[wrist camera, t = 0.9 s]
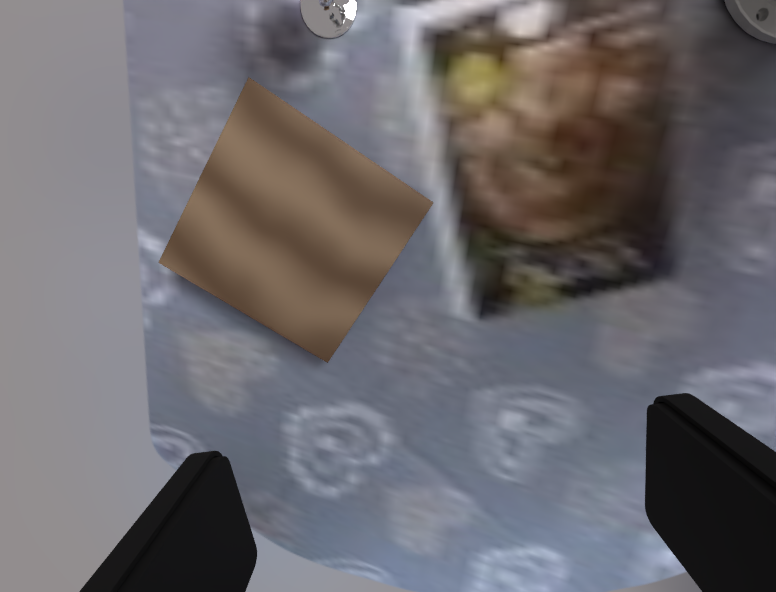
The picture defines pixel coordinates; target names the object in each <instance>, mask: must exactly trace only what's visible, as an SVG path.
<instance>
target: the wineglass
mask: <svg viewBox="0 0 776 592" xmlns="http://www.w3.org/2000/svg"><path fill="white" fill-rule="evenodd" d="M300 8H301V14H302V17H303V20H304V22H305V23H306V25H307V27H308V28H309V29H310V30H311V31H312V32H313V33H314V34H316V35H318V36H320V37H322V38H328V39H330V38H337V37H339V36H341V35H343V34H344V33H345V32H347V31H348V30H349V28H350V27H351V26H352V24H353V22H354V20H355V17H356V12H357V1H356V0H300Z"/></svg>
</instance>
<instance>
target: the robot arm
mask: <svg viewBox="0 0 776 592" xmlns="http://www.w3.org/2000/svg"><path fill="white" fill-rule="evenodd" d="M724 1H725V4H726V7H727V9H728V11H729V13H730V14H731V16H732V17H733V19H734V20H735V22H736V23H737V24H738V25H739V26H740V27H741V28H742V29H743V30H744V31H745V32H746V33H748V34H750V35H752V36H753V37H755V38H757V39H759V40H762V41H765V42H769V43H772V44H776V0H724ZM645 509H646V513H647V516H648V519H649V521H650V523H651V524H652V526H653V528H654V529H655V530H656V531H657V533H658V534H659V535H660V537H661V538H662V539H663V541H664V542H665V543H666V545H667V546H668V547H669V549H670V550H671V551H672V552H673V554H674V555H675V556H676V558H677V559H678V560H679V562H680V563H681V564H682V566H683V567H684V568H685V569H686V571H687V572H688V573H689V575H690V576H691V577H692V579H693V580H694V581H695V583H696V584H697V585H698V586H699V588H700V589H701V590H702V592H776V452H775V451H774V450H772V449H771V448H769V447H768V446H766V445H765V444H763V443H762V442H760V441H759V440H757V439H756V438H755V437H753V436H752V435H750V434H749V433H747V432H746V431H744V430H743V429H741V428H740V427H738V426H737V425H736V424H734V423H733V422H731V421H730V420H728V419H727V418H725V417H724V416H722V415H721V414H719V413H718V412H717V411H715V410H714V409H712V408H711V407H709V406H708V405H706V404H705V403H703V402H702V401H701V400H699V399H698V398H696V397H695V396H693V395H691V394H688V393H683V394H674V395H666V396H659V397H657V398H656V399H655V400H654V404H652V405H649V406H648V408H647V434H646V484H645ZM256 559H257V548H256V544H255V541H254V538H253V534H252V531H251V528H250V525H249V522H248V519H247V515H246V512H245V509H244V506H243V503H242V500H241V496H240V493H239V490H238V487H237V484H236V480H235V477H234V474H233V471H232V468H231V465H230V462H229V459H228V458H227V457H225V456H223V457H222V454H221V453H220V452H219V451H210V452H201V453H194V454H191V455H189V456H188V457H187V458H186V460H185V461H184V462H183V463H182V465H181V466H180V467H179V468H178V470H177V471H176V472H175V473H174V475H173V476H172V477H171V479H170V480H169V481H168V482H167V483H166V485H165V486H164V487H163V488H162V490H161V491H160V492H159V493H158V495H157V496H156V497H155V498H154V499H153V501H152V502H151V503H150V505H149V506H148V507H147V508H146V510H145V511H144V512H143V513H142V515H141V516H140V517H139V518H138V520H137V521H136V522H135V523H134V525H133V526H132V527H131V528H130V529H129V531H128V532H127V533H126V534H125V536H124V537H123V538H122V539H121V541H120V542H119V543H118V544H117V546H116V547H115V548H114V550H113V551H112V552H111V553H110V554H109V556H108V557H107V558H106V559H105V561H104V562H103V563H102V564H101V566H100V567H99V568H98V569H97V570H96V572H95V573H94V574H93V576H92V577H91V578H90V579H89V581H88V582H87V583H86V584H85V585H84V587H83V588H82V589H81V590H80V592H245V591H246V588H247V585H248V583H249V580H250V578H251V575H252V573H253V570H254V567H255V564H256Z"/></svg>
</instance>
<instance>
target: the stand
mask: <svg viewBox="0 0 776 592" xmlns="http://www.w3.org/2000/svg"><path fill="white" fill-rule="evenodd" d="M432 204H433V202H432V201H430V200H429V199H427V198H426V197H424V196H423V195H421V194H420V193H418V192H417V191H415V190H414V189H413V188H411V187H410V186H408V185H407V184H405V183H404V182H402V181H401V180H399V179H398V178H396V177H395V176H393V175H392V174H390V173H389V172H388V171H386V170H385V169H383V168H382V167H380V166H379V165H377V164H376V163H374V162H373V161H371V160H370V159H368V158H367V157H365V156H364V155H363V154H361V153H360V152H358V151H357V150H355V149H354V148H352V147H351V146H349V145H348V144H346V143H345V142H343V141H342V140H340V139H339V138H338V137H336V136H335V135H333V134H332V133H330V132H329V131H327V130H326V129H324V128H323V127H321V126H320V125H318V124H317V123H315V122H314V121H313V120H311V119H310V118H308V117H307V116H305V115H304V114H302V113H301V112H299V111H298V110H296V109H295V108H293V107H292V106H290V105H289V104H288V103H286V102H285V101H283V100H282V99H280V98H279V97H277V96H276V95H274V94H273V93H271V92H270V91H268V90H267V89H265V88H264V87H262V86H261V85H260V84H258V83H257V82H255V81H254V80H252V79H251V78H248V80H247V82H246V84H245V86H244V88H243V90H242V92H241V94H240V96H239V98H238V100H237V102H236V104H235V106H234V108H233V110H232V112H231V115H230V117H229V119H228V121H227V123H226V125H225V127H224V129H223V131H222V133H221V135H220V137H219V139H218V141H217V143H216V145H215V147H214V149H213V152H212V154H211V156H210V158H209V160H208V162H207V164H206V166H205V168H204V170H203V172H202V174H201V176H200V178H199V180H198V182H197V184H196V186H195V189H194V191H193V193H192V195H191V197H190V199H189V201H188V203H187V205H186V207H185V209H184V211H183V213H182V215H181V217H180V219H179V221H178V223H177V226H176V228H175V230H174V232H173V234H172V236H171V238H170V240H169V242H168V244H167V246H166V248H165V250H164V252H163V254H162V256H161V258H160V260H159V263H160V264H162V265H163V266H165V267H167V268H168V269H170V270H172V271H174V272H175V273H177V274H179V275H180V276H182V277H184V278H185V279H187V280H189V281H190V282H192V283H194V284H195V285H197V286H199V287H201V288H202V289H204V290H206V291H207V292H209V293H211V294H212V295H214V296H216V297H217V298H219V299H221V300H222V301H224V302H226V303H228V304H229V305H231V306H233V307H234V308H236V309H238V310H239V311H241V312H243V313H244V314H246V315H248V316H249V317H251V318H253V319H255V320H256V321H258V322H260V323H261V324H263V325H265V326H266V327H268V328H270V329H271V330H273V331H275V332H276V333H278V334H280V335H281V336H283V337H285V338H287V339H288V340H290V341H292V342H293V343H295V344H297V345H298V346H300V347H302V348H303V349H305V350H307V351H308V352H310V353H312V354H314V355H315V356H317V357H319V358H320V359H322V360H324V361H325V362H327V363H328V361H329V360H330V358H331V357H332V355H333V354H334V352H335V351H336V349H337V348H338V346H339V345H340V343H341V342H342V340H343V339H344V337H345V336H346V334H347V333H348V331H349V330H350V328H351V327H352V325H353V324H354V322H355V321H356V319H357V318H358V316H359V315H360V313H361V312H362V310H363V309H364V307H365V305H366V304H367V302H368V301H369V299H370V298H371V296H372V295H373V293H374V292H375V290H376V289H377V287H378V286H379V284H380V283H381V281H382V280H383V278H384V277H385V275H386V274H387V272H388V271H389V269H390V268H391V266H392V265H393V263H394V262H395V260H396V259H397V257H398V256H399V254H400V253H401V251H402V250H403V248H404V246H405V245H406V243H407V242H408V240H409V239H410V237H411V236H412V234H413V233H414V231H415V230H416V228H417V227H418V225H419V224H420V222H421V221H422V219H423V218H424V216H425V215H426V213H427V212H428V210H429V209H430V207H431V206H432Z"/></svg>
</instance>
